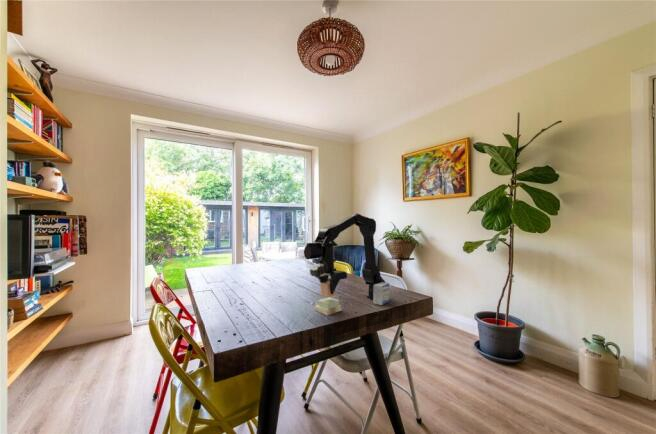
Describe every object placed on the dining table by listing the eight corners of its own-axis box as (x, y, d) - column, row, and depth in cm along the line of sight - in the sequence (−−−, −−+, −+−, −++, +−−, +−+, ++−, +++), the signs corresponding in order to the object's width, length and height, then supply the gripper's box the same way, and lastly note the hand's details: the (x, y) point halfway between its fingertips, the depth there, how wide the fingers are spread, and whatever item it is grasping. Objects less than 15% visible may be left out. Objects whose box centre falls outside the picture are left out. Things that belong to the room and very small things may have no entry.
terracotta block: (328, 293, 115) (328, 281, 115) (335, 295, 112) (335, 282, 112) (321, 295, 112) (320, 282, 112) (327, 297, 109) (327, 284, 109)
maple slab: (329, 307, 117) (329, 301, 118) (341, 311, 111) (341, 305, 111) (315, 311, 112) (315, 305, 112) (327, 316, 106) (327, 310, 106)
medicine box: (381, 305, 116) (382, 286, 116) (373, 303, 119) (373, 284, 119) (389, 301, 122) (389, 283, 122) (381, 299, 125) (381, 281, 125)
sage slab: (329, 302, 116) (329, 297, 116) (339, 305, 111) (339, 300, 112) (318, 305, 112) (317, 300, 112) (327, 309, 107) (327, 303, 107)
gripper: (300, 257, 114) (300, 292, 114) (326, 261, 100) (327, 301, 100) (319, 254, 122) (320, 287, 121) (347, 258, 107) (348, 295, 107)
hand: (328, 292), depth 112 cm, fingers open, 5 cm apart
